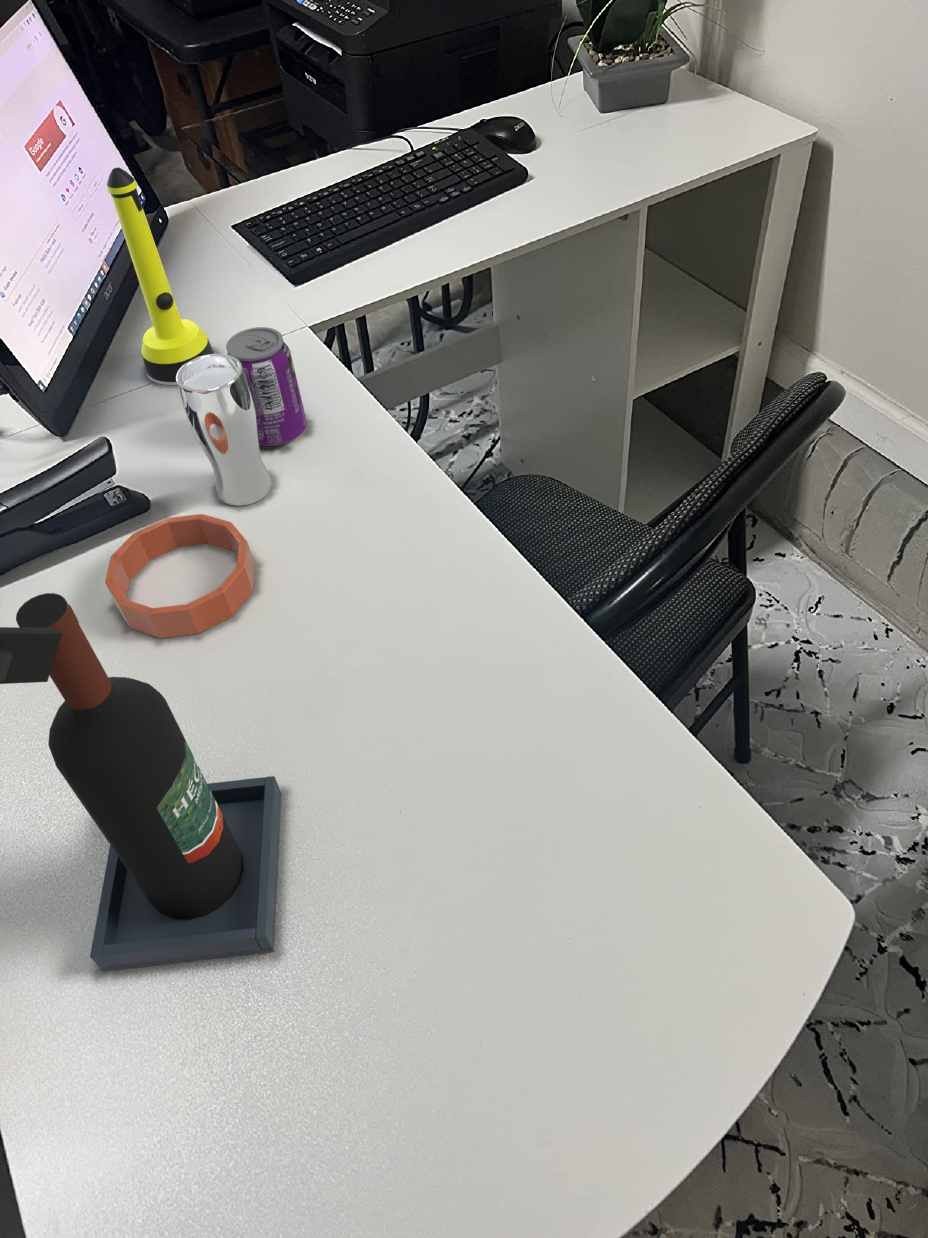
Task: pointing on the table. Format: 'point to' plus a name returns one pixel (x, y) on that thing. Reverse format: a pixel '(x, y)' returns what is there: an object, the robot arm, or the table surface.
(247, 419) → the beer glass
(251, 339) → the beverage can
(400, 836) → the table surface
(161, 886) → the wine bottle
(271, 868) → the tray
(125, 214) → the flashlight
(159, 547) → the faceted bangle
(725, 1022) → the table surface
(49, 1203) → the table surface
